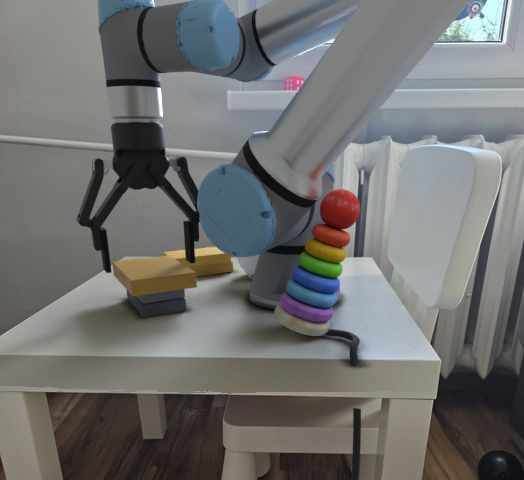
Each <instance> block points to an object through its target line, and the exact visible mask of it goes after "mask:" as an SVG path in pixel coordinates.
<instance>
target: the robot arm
mask: <svg viewBox="0 0 524 480" xmlns="http://www.w3.org/2000/svg"><path fill="white" fill-rule="evenodd" d="M471 1H472V0H270V1H268V2H266V3H265V4H263V5H261V6H259V7H257V8H256V9H254V10H252V11H250V12H248V13H246V14H244V15H242V16H240V17H236V14H235V12H234V11H232V10H231V8H230V5H229V4H228V3H227V2H226V1H225V0H189V1H184V2H177V3H170V4H164V5H159V6H158V5H157V6H155V0H97V10H98V11H97V12H98V14H97V15H98V35H99V38H100V44H101V51H102V59H103V60H102V61H103V69H104V75H105V86H106V87H105V88H106V92H107V93H106V95H107V104H108V115H109V118H110V119H112V120H114V121H113V123H111V125H110V132H111V134H110V135H111V141H112V151H113V157H112V159H110V160H109V159H102V158H99V157H94V158H93V159H92V160H91V170H92V171H91V177H90V180H89V182H88V185H87V187H86V191H85V193H84V196H83V199H82V202H81V205H80V208H79V210H78V212H77V213H78V214H77V216H76V222H77V223H78V225H80V226H81V227H85V228H89V229H90V232H91V233H90V234H91V239H92V246H93V248H94V250H95V251H96V252H99V251H100V253H101V261H102V262H101V263H102V268H103V271H104V272H105V273H106V274H110V273H112V272H113V270H112V265H111V264H112V262H111V258H110V257H111V256H110V255H111V254H110V248H109V241H108V233H107V229H106V228H105V227H104V226H103V225H104V224H105V221H106V220H107V219H108V217H109V216H110V215H111V213H112V212H113V210H114V209H115V207H116V205H117V204H118V203H119V201H120V199H121V198H122V197H123V195H124V194H125V193H126V192H127V191H128V189H131V190H134V191H137V190H139V191H141V190H143V189H148V190H155V189H156V188H159V189H160V190H161V191H162V192H164V194H165V195H166V196H167V197H168V199H169V200H170V201H172V202H173V203H174V205H175V206H176V207H177V208H178V209H179V211H181V212H182V214H183V215H185V218H187V219H188V220H183V236H184V250H185V255H186V261H188V262H189V263H195V249H196V248H195V242H199V241H200V226H201V228H202V230H203V232H204V234H205V236H206V237H207V238H208V240H209V241H210V243H212V245H213V246H214V247H217V248H218V249H219V250H221V251H222V252H224V253H226V254H228V255H230V256H231V257H235V258H237V257H249V256H256V255H259V258H258V262H257V265H256V268H255V272H254V275H252V276H251V278H250V285H249V299H250V302H252V303H253V304H254V305H256V306H259V307H262V308H266V309H270V310H275V308H276V307H277V306H278V305H279V304H280V297H281V295H282V294H283V293H284V292H286V291H287V288H286V286H287V283H288V281H289V280H290V279H292V278H293V270H294V269H295V267H296V266H298V265H300V264H299V256H300V254H301V253H303V252H306V250H305V244H306V242H307V241H308V240H309V239H312V238H314V237H313V235H312V229H313V227H314V226H315V225H316V224H318V223H323V224H326V223H324V222H323V220H322V219H321V216H320V205H321V202H322V200H323V198H324V197H325V196H326V195H327V194H328V193H329V192H331V191H333V190H334V184H335V180H336V179H335V174H334V163H335V162H336V161H337V160H338V159H339V157H340V156H341V155H342V154H343V153H344V152H345V150H346V149H347V148H348V147H349V145H351V143H352V142H353V141H354V140H355V138H356V137H357V136H358V135H359V134H360V132H361V131H363V129H364V128H365V126H367V124H368V123H369V122H370V121H371V120H372V119H373V117H374V116H375V115H376V114H377V112H378V111H379V110H380V109H381V108H382V106H383V105H384V104H385V103H386V102H387V101H388V100H389V98H391V96H393V94H394V92H395V91H396V89H398V87H400V85H401V84H402V83H403V82H404V81H405V79H406V78H407V77H408V76H409V75H410V73H411V72H412V71H413V70H414V69H415V67H417V65H418V64H419V63H420V61H421V60H422V59H423V58H424V57H425V56H426V54H427V53H428V52H429V51H430V50H431V48H432V47H434V45H435V44H436V42H437V41H438V40H439V39H440V38H441V37H442V36H443V34H445V32H446V31H447V30H448V28H450V27H451V25H452V24H453V23H454V21H455V20H456V19H457V18H458V17H459V16H460V15H461V13H462V12H463V11H464V9H466V7H467V6H468V5H469V4H470V2H471ZM331 41H332V42H331ZM329 42H331V44H330V45H329V47H328V49H327V50H326V51H325V53H324V54H323V55H322V57H321V58H320V60H319V61H318V62H317V64H316V65H315V67H314V68H313V69H312V70H311V72H310V73H309V75H308V76H307V78H306V79H305V80H304V82H303V83H302V84H301V86H300V87H299V89H298V90H297V91H296V93H295V94H294V96H293V97H292V99H291V100H290V101H289V103H288V104H287V105H286V106H285V108H284V109H283V111H282V112H281V114H280V115H279V117H278V118H277V119H276V121H275V122H274V124H273V125H272V126H271V127H270V129H269V130H266V131H255V132H253V133H251V135H250V136H248V139H247V140H246V141H245V143H244V145H242V147H241V148H240V150H239V151H238V153H237V154H236V155H235V157H234V158H233V160H232V161H231V163H225V164H220V165H219V166H217V167H216V168H214V169H212V170H211V171H209V172H208V173H207V174H206V175H205V177H204V178H203V180H202V182H201V183H200V186H199V188H198V187H197V185H196V183H195V181H194V179H193V176H192V175H191V174H190V171H189V165H188V160H187V157H185V156H179V155H177V156H175V157H173V158H168V157H167V154H166V140H165V127H164V125H163V124H162V123H160V120H162V119H163V118H164V114H163V113H164V111H163V99H162V90H161V88H162V87H161V74H167V73H189V72H190V73H198V74H202V75H209V76H215V77H221V78H226V79H231V80H236V81H238V82H241V83H250V82H259V81H261V80H264V79H266V78H267V77H268V76H269V75H270V74H271V72H272V71H273V69H274V68H275V66H277V65H280V64H282V63H285V62H287V61H288V60H291V59H293V58H296V57H298V56H301V55H303V54H305V53H307V52H309V51H311V50H313V49H316V48H318V47H320V46H322V45H324V44H327V43H329ZM170 168H171V170H172V172H174V173H176V174H177V177H178V178H179V181H180V182H181V184H182V186H183V188H184V190H185V192H186V194H187V196H188V197H189V200H190V201H191V203H192V205H193V207H194V208H195V210H194V208H193V207H192V206H191V205H190V204H189V203H188V202H187V200H185V198H184V197H183V196H182V195H181V194H180V193H179V191H177V190H176V188H175V187H174V185H172V183H171V182H170V180H168V178H167V177H166V174H167V172H168V170H169V169H170ZM111 169H112V170H113V171H114V172H115V174H116V176H118V179H117V180H116V181H115V183H114V184H113V186H112V188H111V190H110V191H109V193H108V194H107V195H106V197H105V198H104V200H103V202H102V203H101V205H100V206H99V208H98V209H97V210H96V211H95V213H94V215H93V216H92V218H91V215H92V212H93V210H94V206H95V203H96V200H97V198H98V195H99V193H100V190H101V187H102V184H103V181H104V176H106V175H108V174H109V171H110V170H111ZM335 294H336V297H337V299H336V302H335V304H337V303H338V302H339V301H340V298H341V297H340V295H341V288H340V287H339V289H338V290H337V291H336V292H335ZM323 336H328V337H329V336H330V337H337V338H341V339H342V338H343V339H346V340H348V341H350V345H349V349H348V351H349V364H350V366H354V367H357V366H359V358H358V356H359V355H358V350H359V349H358V348H359V346H360V341H361V340H360V338H359V336H358V335H356V334H354V333H353V332H350V331H347V330H342V329H335V328H334V329H332V328H329V330H328V332H327V333H326V334H324V335H323ZM361 435H362V409H361V408H356V407H353V408H352V461H351V479H350V480H360V466H361V445H362V443H361V441H362V440H361V439H362V436H361Z"/></svg>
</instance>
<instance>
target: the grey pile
mask: <svg viewBox="0 0 524 480" xmlns="http://www.w3.org/2000/svg"><path fill="white" fill-rule="evenodd" d="M185 290H186V289H181V290H174V291H167V292H160V293H153V294H146V295H139V296H132V295H131V294H130V293H129V291H128V290H127V289H126V288H125V291H126V298H127V300H128V301H129V302H130V304H131V305H132V306H133V307H134V309H136V311H137V312H138V313H139V314H140V315H141V316H142V317H143V318H147V317H154V316H160V315H166V314H167V315H168V314H172V313H173V314H174V313H178V312H184V311H187V301H186V298H185V297H186V291H185Z"/></svg>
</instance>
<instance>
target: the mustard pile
mask: <svg viewBox="0 0 524 480" xmlns="http://www.w3.org/2000/svg"><path fill="white" fill-rule="evenodd" d="M162 256H171V257H172V258H174V259H176V260H177V261H179V262H180V263H182V264H183V265H185V266H187V267H188V268H190V269H191V270H193V271H194V272H196V277H202V276H210V275H218V274H225V273H232V272H234V262H233V261H232V256H230V255H228V254H226V253H224V252H222V251H221V250H219V249H218V248H217V247H216V246H209V247H199V248H195V263H189V262H188V261H186V255H185V249H179V250H178V249H177V250H170V251H162Z"/></svg>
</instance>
